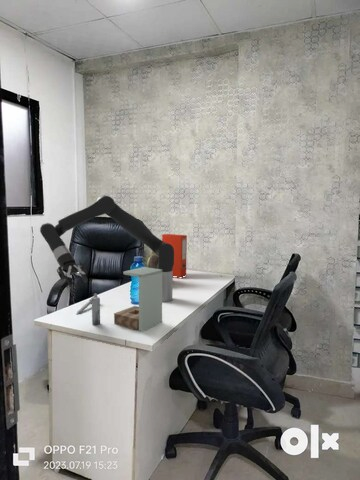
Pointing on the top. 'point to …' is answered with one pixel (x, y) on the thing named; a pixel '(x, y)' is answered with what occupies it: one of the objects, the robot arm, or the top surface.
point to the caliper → (86, 304)
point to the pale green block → (149, 296)
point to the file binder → (178, 252)
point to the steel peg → (95, 311)
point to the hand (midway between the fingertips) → (79, 283)
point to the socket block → (128, 318)
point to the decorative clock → (153, 261)
